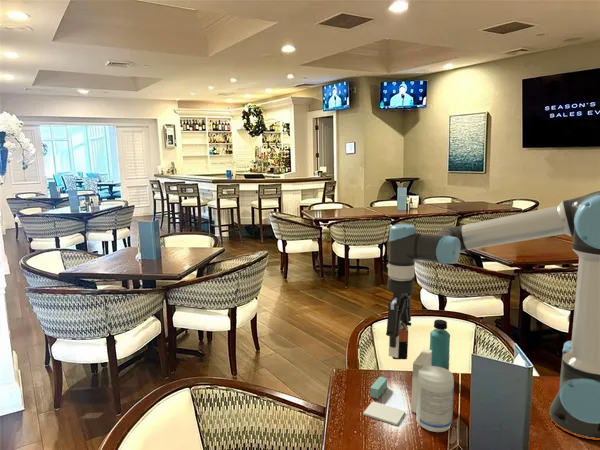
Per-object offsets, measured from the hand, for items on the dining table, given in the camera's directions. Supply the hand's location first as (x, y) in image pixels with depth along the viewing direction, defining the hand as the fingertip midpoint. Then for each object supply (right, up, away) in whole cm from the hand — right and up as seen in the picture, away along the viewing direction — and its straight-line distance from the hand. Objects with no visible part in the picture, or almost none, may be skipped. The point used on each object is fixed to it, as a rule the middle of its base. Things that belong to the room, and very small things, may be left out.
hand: (398, 350), depth 134 cm
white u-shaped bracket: (+6, -15, -1) cm, 17 cm away
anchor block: (-5, -14, +6) cm, 16 cm away
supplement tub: (+7, -17, -10) cm, 21 cm away
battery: (0, -1, 0) cm, 1 cm away
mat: (-5, -16, -6) cm, 18 cm away
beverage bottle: (+16, -13, +14) cm, 25 cm away
